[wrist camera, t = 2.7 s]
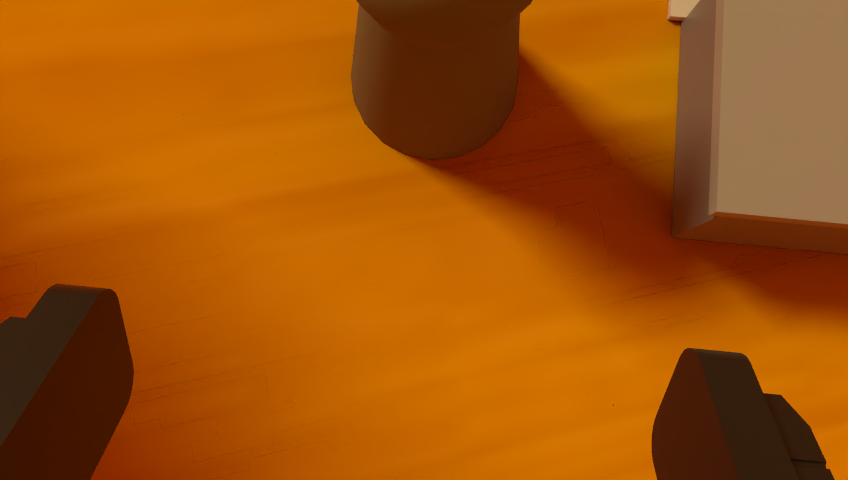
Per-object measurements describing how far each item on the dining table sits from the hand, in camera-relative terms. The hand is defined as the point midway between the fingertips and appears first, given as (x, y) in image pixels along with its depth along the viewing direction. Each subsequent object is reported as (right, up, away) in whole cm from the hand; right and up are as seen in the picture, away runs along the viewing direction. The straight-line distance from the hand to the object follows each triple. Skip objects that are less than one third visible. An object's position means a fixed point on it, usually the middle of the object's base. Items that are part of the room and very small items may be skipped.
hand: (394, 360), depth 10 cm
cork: (+1, +8, +16) cm, 18 cm away
